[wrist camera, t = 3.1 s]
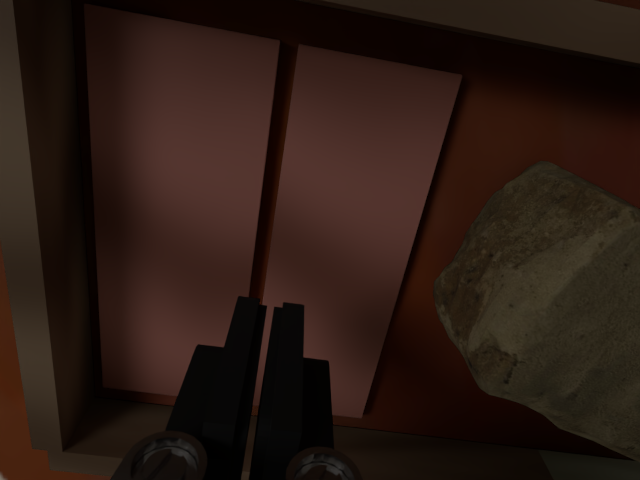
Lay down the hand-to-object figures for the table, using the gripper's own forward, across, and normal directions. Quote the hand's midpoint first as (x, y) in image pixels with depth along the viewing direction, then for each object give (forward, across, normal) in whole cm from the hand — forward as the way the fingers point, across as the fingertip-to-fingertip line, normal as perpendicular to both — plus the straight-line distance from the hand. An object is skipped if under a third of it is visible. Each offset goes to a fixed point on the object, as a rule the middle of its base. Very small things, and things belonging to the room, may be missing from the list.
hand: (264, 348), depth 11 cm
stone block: (+4, -11, -1) cm, 12 cm away
